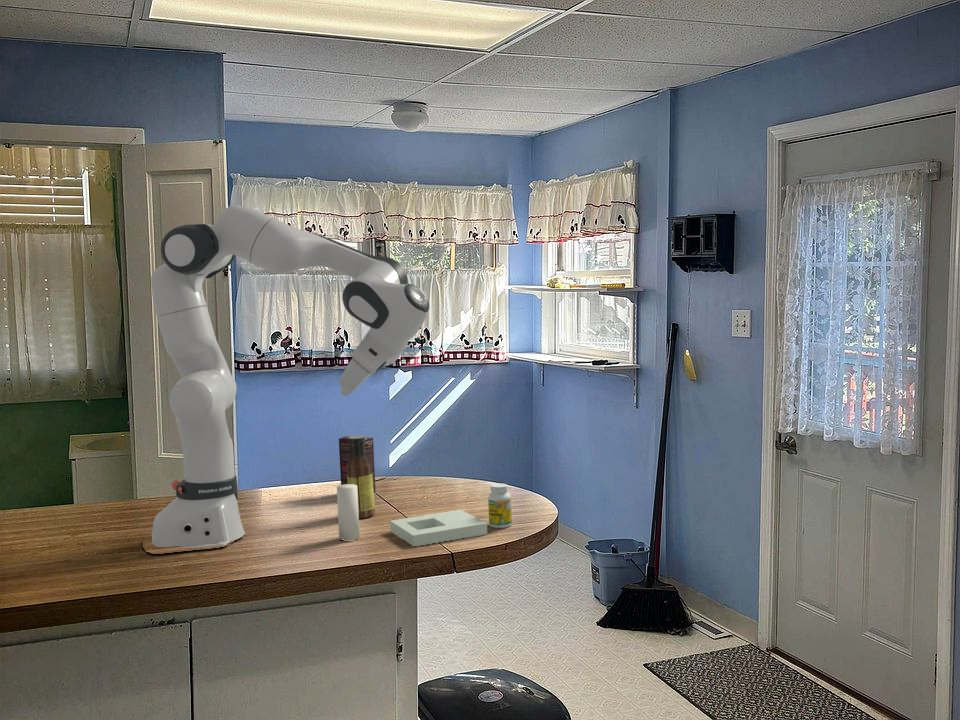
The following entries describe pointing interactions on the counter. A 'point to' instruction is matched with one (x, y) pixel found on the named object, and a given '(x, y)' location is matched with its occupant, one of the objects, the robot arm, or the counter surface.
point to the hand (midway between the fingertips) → (354, 384)
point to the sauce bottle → (361, 476)
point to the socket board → (438, 527)
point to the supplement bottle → (499, 506)
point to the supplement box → (345, 454)
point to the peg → (348, 511)
